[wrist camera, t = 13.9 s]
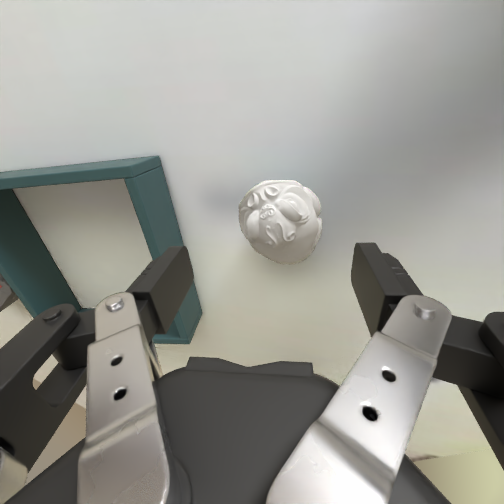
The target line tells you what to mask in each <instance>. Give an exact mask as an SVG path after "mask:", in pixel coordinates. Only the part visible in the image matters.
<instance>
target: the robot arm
mask: <svg viewBox="0 0 504 504" xmlns="http://www.w3.org/2000/svg"><path fill="white" fill-rule="evenodd" d="M193 278H194V275H193V269H192V265H191V261H190V258H189V254H188V250H187V248H186V247H185V246H170V247H168V249H167V250H166V251H165V252H164V253H163V255H162V256H159V257H158V258H156V259H155V260H153V261H152V262H150V264H149V265H148V266H147V267H146V268H145V270H144V271H143V272H142V273H141V275H139V276H138V278H137V279H136V280H135V281H134V282H133V283H132V285H131V286H130V287H129V288H128V289H127V290H126V292H121V293H116V294H113V295H111V296H109V297H107V298H105V299H104V300H102V301H101V302H100V303H99V304H98V305H97V306H96V308H95V309H94V310H89V311H84V312H80V313H78V312H77V310H76V309H75V307H74V306H73V305H72V304H67V303H66V304H59V305H56V306H53V307H51V308H49V309H47V310H45V311H43V312H42V313H40V314H39V315H38V316H36V317H35V318H34V319H33V320H32V321H31V322H30V323H29V324H28V325H26V326H25V327H24V328H23V329H22V330H21V331H20V332H19V333H18V334H16V335H15V336H14V337H13V338H12V339H11V340H10V341H9V342H8V343H7V344H5V345H4V346H3V347H2V348H1V349H0V504H451V503H450V502H449V501H448V500H447V499H446V497H445V496H444V495H443V494H442V493H441V492H440V491H439V490H438V489H437V488H436V487H435V486H434V485H433V484H432V482H431V481H430V480H429V479H428V478H427V477H426V476H425V475H424V474H423V473H422V472H421V470H420V469H419V468H418V467H417V466H416V465H415V464H414V463H413V462H412V461H411V460H410V459H409V458H408V456H407V455H406V454H405V450H406V448H407V445H408V442H409V439H410V437H411V434H412V431H413V428H414V426H415V423H416V420H417V417H418V414H419V412H420V409H421V406H422V403H423V401H424V398H425V395H426V392H427V389H428V387H429V384H430V381H431V378H432V377H434V378H437V379H440V380H443V381H446V382H450V383H453V384H456V385H457V386H458V387H459V389H460V391H461V393H462V395H463V397H464V398H465V400H466V402H467V404H468V406H469V408H470V409H471V411H472V413H473V415H474V417H475V419H476V420H477V422H478V424H479V426H480V428H481V430H482V431H483V433H484V435H485V437H486V439H487V441H488V442H489V444H490V446H491V448H492V450H493V451H494V453H495V455H496V457H497V459H498V461H499V463H500V464H501V466H502V468H503V470H504V312H493V313H490V314H488V315H487V316H486V318H485V320H484V321H483V322H479V321H475V320H470V319H466V318H461V317H457V316H453V315H451V312H450V311H449V309H448V308H447V307H446V306H445V305H443V304H442V303H440V302H439V301H437V300H435V299H432V298H430V297H427V296H424V295H423V294H422V293H421V291H420V290H419V288H418V287H417V286H416V284H415V283H414V282H413V280H412V279H411V277H410V276H409V275H408V273H407V272H406V270H405V269H403V266H402V265H401V264H400V262H399V261H398V260H397V259H396V258H394V257H393V256H391V255H390V254H388V253H381V251H380V249H379V248H378V246H377V245H376V243H356V245H355V248H354V255H353V262H352V270H351V282H352V286H353V288H354V291H355V294H356V297H357V299H358V302H359V305H360V307H361V310H362V313H363V316H364V318H365V321H366V324H367V326H368V329H369V332H370V335H371V337H372V338H371V339H370V341H369V342H368V344H367V346H366V347H365V349H364V350H363V352H362V353H361V355H360V356H359V358H358V359H357V361H356V362H355V364H354V366H353V367H352V369H351V370H350V372H349V373H348V375H347V376H346V378H345V379H344V381H343V383H342V384H341V386H339V385H337V384H336V383H334V382H333V381H331V380H329V379H327V378H325V377H323V376H320V375H318V374H314V373H313V365H312V363H307V362H286V361H279V362H274V363H268V364H263V365H258V366H252V367H245V366H242V365H239V364H235V363H232V362H229V361H226V360H223V359H219V358H206V357H190V358H189V360H188V363H187V365H186V367H183V368H180V369H176V370H174V371H172V372H169V373H167V374H165V375H164V376H163V373H162V369H161V366H160V362H159V359H158V355H157V352H156V348H155V345H154V342H153V340H152V338H153V337H154V335H155V334H165V335H166V333H167V331H168V329H169V327H170V325H171V324H172V322H173V320H174V318H175V316H176V314H177V312H178V310H179V308H180V306H181V304H182V303H183V301H184V299H185V297H186V295H187V293H188V291H189V289H190V287H191V285H192V283H193ZM51 354H52V355H53V356H54V357H55V358H56V360H57V361H58V362H59V363H58V364H57V365H56V367H55V368H54V369H53V370H52V372H51V373H50V374H49V375H48V376H47V378H46V379H45V380H44V381H43V382H42V384H41V385H40V386H39V387H38V389H37V390H35V389H34V387H33V383H32V382H33V377H34V375H35V373H36V372H37V370H38V369H39V368H40V367H41V366H42V365H43V364H44V362H45V361H46V360H47V359H48V358H49V357H50V356H51ZM86 384H87V394H86V437H85V438H84V439H82V440H81V441H80V442H79V443H78V444H76V445H75V446H74V447H73V448H71V449H70V450H69V451H68V452H66V453H65V454H64V455H63V456H61V457H60V458H59V459H58V460H56V461H55V462H54V463H53V464H52V465H50V466H49V467H48V468H47V469H45V470H44V471H43V472H42V473H40V474H39V475H38V476H37V477H36V478H34V479H33V480H32V481H31V482H30V483H28V484H27V485H26V486H25V483H26V479H27V474H28V473H29V471H30V470H31V468H32V467H33V465H34V463H35V462H36V460H37V459H38V457H39V456H40V454H41V453H42V451H43V450H44V448H45V447H46V445H47V443H48V442H49V441H50V439H51V437H52V436H53V434H54V433H55V431H56V430H57V428H58V427H59V425H60V424H61V422H62V421H63V419H64V417H65V416H66V415H67V413H68V412H69V410H70V409H71V407H72V406H73V404H74V402H75V401H76V399H77V398H78V396H79V395H80V393H81V392H82V390H83V389H84V387H85V386H86Z"/></svg>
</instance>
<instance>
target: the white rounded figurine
mask: <svg viewBox="0 0 504 504" xmlns="http://www.w3.org/2000/svg"><path fill="white" fill-rule="evenodd" d="M320 213H321V205H320V201H319V199H318V198H317V196H316V195H315V193H314V192H313V191H311V190H310V189H309V188H307V187H302V185H301V184H300V183H298V182H297V181H294V180H267V181H263V182H261V183H260V184H257V185H255V187H253V188H252V189H251V190H249V191H248V192H247V194H246V195H245V196H244V198H243V199H242V201H241V202H240V204H239V222H240V227H241V231H242V233H243V234H244V236H245V237H246V239H248V240H249V242H250V244H251V246H252V247H253V248H254V250H255V251H256V252H258V253H259V254H262V255H263V256H265V257H266V258H268V259H270V260H272V261H274V262H277V263H281V264H295V263H299V262H301V261H303V260H305V259H306V258H307V257H309V255H310V254H311V253H312V252H313V251H314V249H315V246H316V244H317V242H318V241H319V239H320V236H321V233H322V219H321V218H320V217H318V216H319V215H320Z"/></svg>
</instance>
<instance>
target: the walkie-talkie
mask: <svg viewBox="0 0 504 504" xmlns="http://www.w3.org/2000/svg"><path fill="white" fill-rule="evenodd" d="M16 300H18V296H17V295H16V294H15V292H14V291H13V290H12V288H11V287H10V285H9V284H8V283H7V281H6V280H5V279H4V277H3V276H2V274H1V273H0V312H1V311H2V310H4V309H5V308H6V307H8V306H9V305H11V304H12V303H14V302H15V301H16Z"/></svg>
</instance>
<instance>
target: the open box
mask: <svg viewBox="0 0 504 504" xmlns="http://www.w3.org/2000/svg"><path fill="white" fill-rule="evenodd" d="M122 178H125V179H124V180H125V183H126V186H127V189H128V191H129V194H130V197H131V200H132V203H133V205H134V208H135V211H136V214H137V217H138V220H139V222H140V225H141V228H142V231H143V234H144V236H145V239H146V242H147V245H148V248H149V250H150V253H151V256H152V259H153V260H155V259H156V258H158V257H159V256H162V255H163V253H164V252H165V251H166V250H167V249H168V247H170V246H184V245H183V241H182V238H181V234H180V230H179V227H178V223H177V220H176V216H175V212H174V209H173V205H172V201H171V198H170V194H169V191H168V187H167V183H166V180H165V176H164V172H163V169H162V166H161V162H160V158H159V156H151V157H141V158H132V159H122V160H112V161H103V162H93V163H84V164H74V165H65V166H55V167H46V168H36V169H27V170H17V171H8V172H0V273H1V274H2V276H3V277H4V279H5V280H6V281H7V283H8V284H9V285H10V287H11V288H12V290H13V291H14V292H15V294H16V295H17V296H18V298H19V299H20V300H21V302H22V303H23V305H24V306H25V307H26V309H27V310H28V311H29V313H30V314H31V315H32V317H33V318H35V317H36V316H38V315H39V314H40V313H42V312H43V311H45V310H47V309H49V308H51V307H53V306H56V305H59V304H66V303H67V304H72V305H73V306H74V307H75V309H76V310H77V312H78V313H80V312H84V311H89V310H94V309H81V307H80V305H79V303H78V302H77V300H76V298H75V296H74V295H73V293H72V291H71V290H70V288H69V286H68V284H67V283H66V281H65V279H64V278H63V276H62V274H61V273H60V271H59V269H58V267H57V266H56V264H55V262H54V261H53V259H52V257H51V256H50V254H49V252H48V250H47V249H46V247H45V245H44V244H43V242H42V240H41V239H40V237H39V235H38V233H37V232H36V230H35V228H34V227H33V225H32V223H31V222H30V220H29V218H28V216H27V215H26V213H25V211H24V210H23V208H22V206H21V204H20V203H19V201H18V199H17V198H16V196H15V194H14V193H13V191H12V189H14V188H24V187H35V186H46V185H57V184H68V183H79V182H90V181H101V180H112V179H122ZM201 315H202V310H201V307H200V303H199V299H198V296H197V292H196V289H195V285H194V281H193V283H192V285H191V287H190V289H189V291H188V293H187V295H186V297H185V299H184V301H183V303H182V304H181V306H180V308H179V310H178V312H177V314H176V316H175V318H174V320H173V322H172V324H171V325H170V327H169V329H168V331H167V333H166V335H165V334H155V335H154V337H153V338H152V340H153V342H154V343H158V344H190V342H191V340H192V337H193V335H194V332H195V330H196V328H197V325H198V323H199V320H200V318H201Z"/></svg>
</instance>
